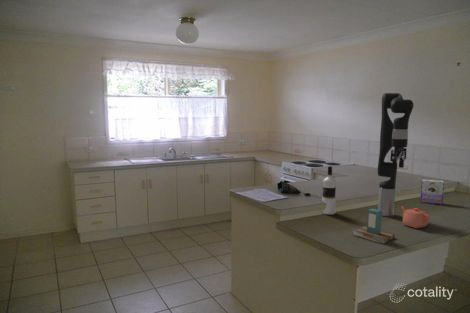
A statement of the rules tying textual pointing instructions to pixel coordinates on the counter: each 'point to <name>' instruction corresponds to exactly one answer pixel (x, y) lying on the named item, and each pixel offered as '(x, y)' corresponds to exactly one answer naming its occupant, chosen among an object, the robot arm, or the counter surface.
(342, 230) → the counter surface
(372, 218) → the tea box
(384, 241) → the shelf
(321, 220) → the counter surface
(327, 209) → the vodka
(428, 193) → the candy box
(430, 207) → the counter surface
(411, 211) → the teapot
